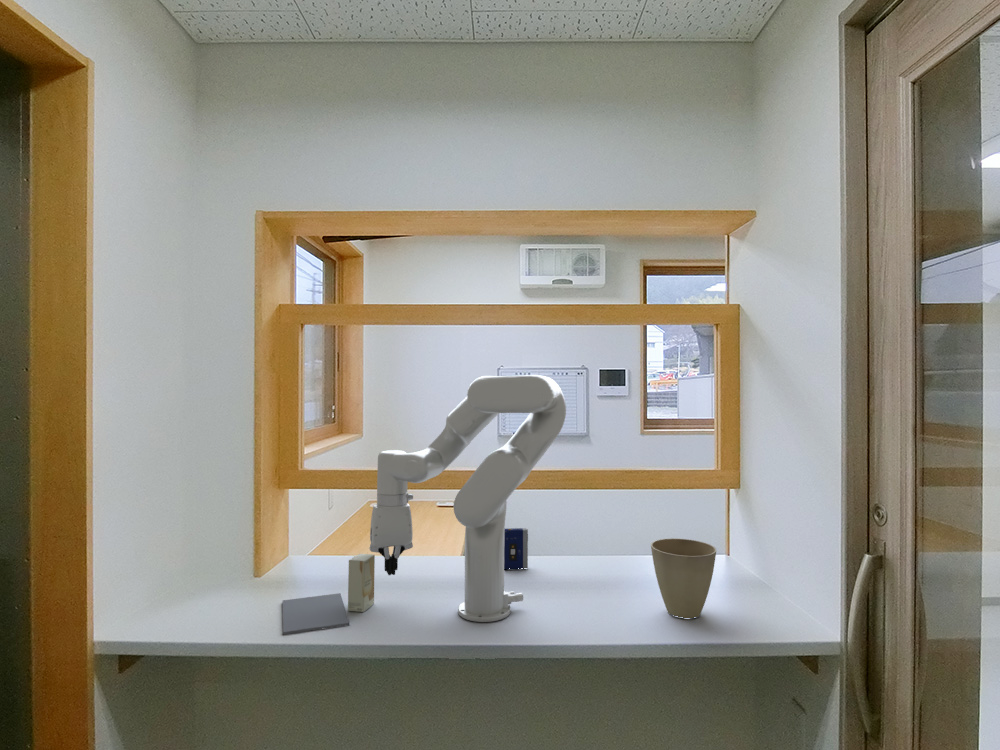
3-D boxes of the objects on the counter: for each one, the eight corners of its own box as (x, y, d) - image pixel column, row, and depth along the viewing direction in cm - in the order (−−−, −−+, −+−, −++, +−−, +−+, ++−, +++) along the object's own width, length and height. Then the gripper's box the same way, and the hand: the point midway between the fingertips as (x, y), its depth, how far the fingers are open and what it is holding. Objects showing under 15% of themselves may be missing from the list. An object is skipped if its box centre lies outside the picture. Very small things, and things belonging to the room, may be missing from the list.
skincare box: (363, 613, 135) (364, 561, 135) (347, 611, 136) (347, 560, 136) (375, 603, 141) (375, 553, 142) (359, 601, 142) (359, 552, 143)
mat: (340, 595, 146) (340, 593, 147) (349, 625, 128) (349, 622, 128) (282, 602, 141) (282, 600, 141) (283, 635, 123) (283, 632, 123)
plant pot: (638, 606, 139) (638, 541, 140) (688, 599, 144) (687, 536, 145) (678, 630, 125) (677, 558, 126) (731, 621, 130) (730, 551, 131)
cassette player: (503, 570, 167) (503, 529, 168) (502, 567, 170) (502, 527, 170) (528, 569, 168) (528, 529, 168) (527, 567, 170) (527, 527, 171)
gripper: (418, 495, 148) (417, 566, 148) (359, 498, 143) (358, 572, 143) (424, 501, 141) (423, 575, 141) (363, 504, 136) (362, 581, 136)
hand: (390, 573), depth 142 cm, fingers closed
